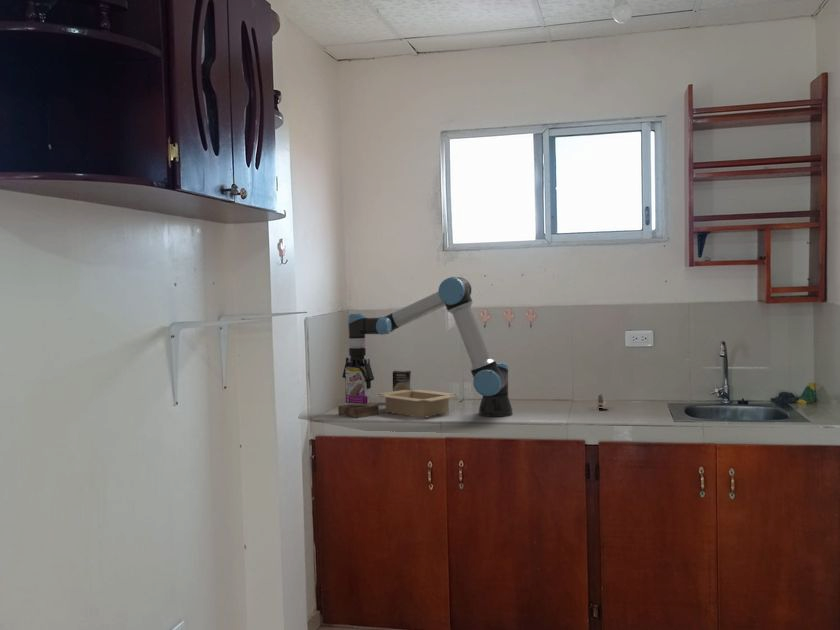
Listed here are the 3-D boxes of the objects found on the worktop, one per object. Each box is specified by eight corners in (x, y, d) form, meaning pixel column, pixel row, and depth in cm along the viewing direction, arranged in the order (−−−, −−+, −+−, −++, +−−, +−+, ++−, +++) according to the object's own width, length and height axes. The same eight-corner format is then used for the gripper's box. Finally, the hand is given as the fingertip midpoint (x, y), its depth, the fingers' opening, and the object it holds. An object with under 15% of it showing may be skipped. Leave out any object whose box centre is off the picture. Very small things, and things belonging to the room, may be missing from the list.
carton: (464, 412, 347) (463, 394, 347) (425, 420, 328) (424, 402, 328) (411, 404, 371) (411, 388, 370) (372, 412, 352) (372, 394, 352)
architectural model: (606, 409, 351) (605, 393, 351) (605, 411, 344) (605, 395, 344) (598, 409, 352) (598, 393, 352) (598, 411, 345) (597, 395, 345)
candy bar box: (345, 403, 345) (344, 367, 345) (349, 401, 350) (349, 366, 349) (367, 404, 341) (366, 368, 341) (372, 402, 346) (371, 366, 345)
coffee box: (392, 404, 373) (391, 372, 373) (393, 402, 380) (393, 370, 379) (410, 404, 372) (410, 372, 372) (412, 402, 379) (411, 370, 378)
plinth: (378, 414, 346) (378, 405, 346) (357, 418, 337) (357, 409, 337) (359, 411, 355) (359, 402, 355) (338, 414, 346) (338, 406, 346)
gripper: (381, 347, 339) (382, 395, 340) (346, 345, 356) (347, 391, 357) (368, 349, 334) (369, 397, 334) (334, 346, 350) (335, 393, 351)
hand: (358, 394), depth 346 cm, fingers closed on candy bar box, 12 cm apart
